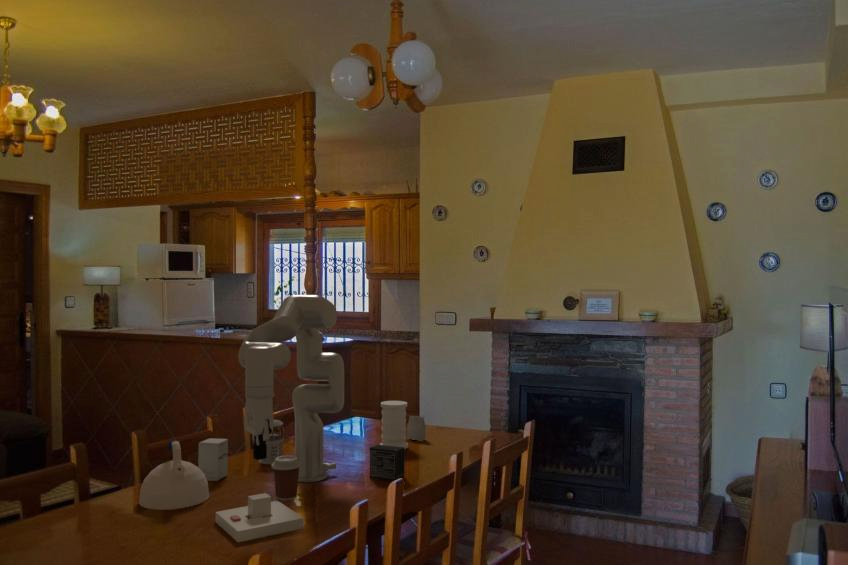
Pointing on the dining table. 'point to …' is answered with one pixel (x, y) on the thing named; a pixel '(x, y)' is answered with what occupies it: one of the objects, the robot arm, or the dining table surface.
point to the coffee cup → (286, 477)
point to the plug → (259, 506)
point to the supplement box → (213, 458)
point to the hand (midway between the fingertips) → (260, 458)
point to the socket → (258, 522)
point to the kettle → (174, 484)
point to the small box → (386, 462)
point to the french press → (274, 444)
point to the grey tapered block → (416, 428)
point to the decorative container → (394, 423)
